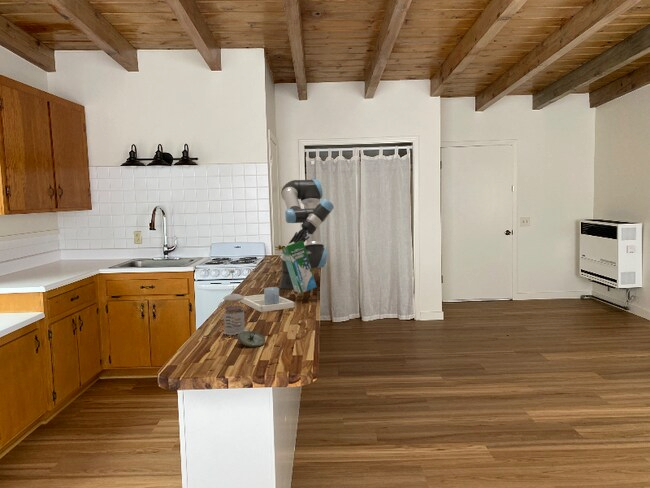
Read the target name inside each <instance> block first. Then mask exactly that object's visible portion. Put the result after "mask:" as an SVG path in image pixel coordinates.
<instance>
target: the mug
mask: <svg viewBox="0 0 650 488" xmlns="http://www.w3.org/2000/svg"><path fill="white" fill-rule="evenodd" d="M263 294H264V299H265V306H266V305H273V304H279V296H280V287H279V286H271V287H270V286H269V287H264V288H263Z"/></svg>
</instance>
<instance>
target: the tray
mask: <svg viewBox="0 0 650 488" xmlns="http://www.w3.org/2000/svg"><path fill="white" fill-rule="evenodd" d="M243 297H244V298H243V299H242V300H240V302H241V304H244V305H245V306H248V307H250V308H252V309H253V310H255V311H258V312H260V313H264V312H265V313H266V312H271V311H278V310H280V311H281V310H286V309H294V308H295V302H294V301H293V300H290V299H288V298H285V297H283V296H280V295H279V304H273V305H266V306H265V299H264V293H263V294H254V295H247V296H243Z"/></svg>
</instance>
